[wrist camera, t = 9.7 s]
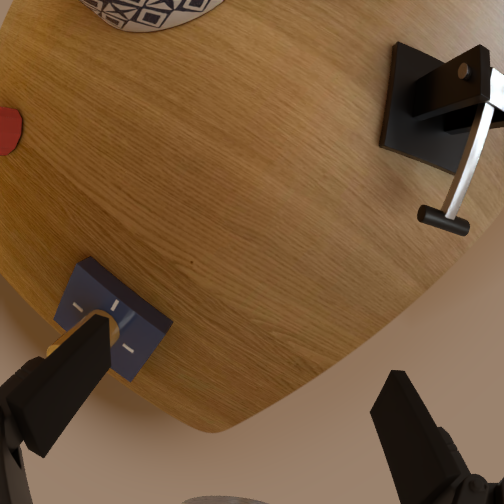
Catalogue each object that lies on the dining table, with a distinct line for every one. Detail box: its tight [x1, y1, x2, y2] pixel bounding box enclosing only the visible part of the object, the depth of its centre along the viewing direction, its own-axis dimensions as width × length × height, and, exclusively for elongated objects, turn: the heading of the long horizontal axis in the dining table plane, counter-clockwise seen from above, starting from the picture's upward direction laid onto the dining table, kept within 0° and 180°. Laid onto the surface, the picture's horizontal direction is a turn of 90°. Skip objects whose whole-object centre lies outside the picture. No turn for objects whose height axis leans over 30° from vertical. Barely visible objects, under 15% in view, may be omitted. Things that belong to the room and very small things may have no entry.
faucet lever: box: [417, 67, 504, 236], centre depth 18 cm, size 14×5×2 cm, turn 168°
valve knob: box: [47, 310, 120, 357], centre depth 25 cm, size 4×4×8 cm
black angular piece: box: [379, 42, 504, 176], centre depth 19 cm, size 12×10×13 cm
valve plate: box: [54, 256, 173, 382], centre depth 31 cm, size 12×9×3 cm
